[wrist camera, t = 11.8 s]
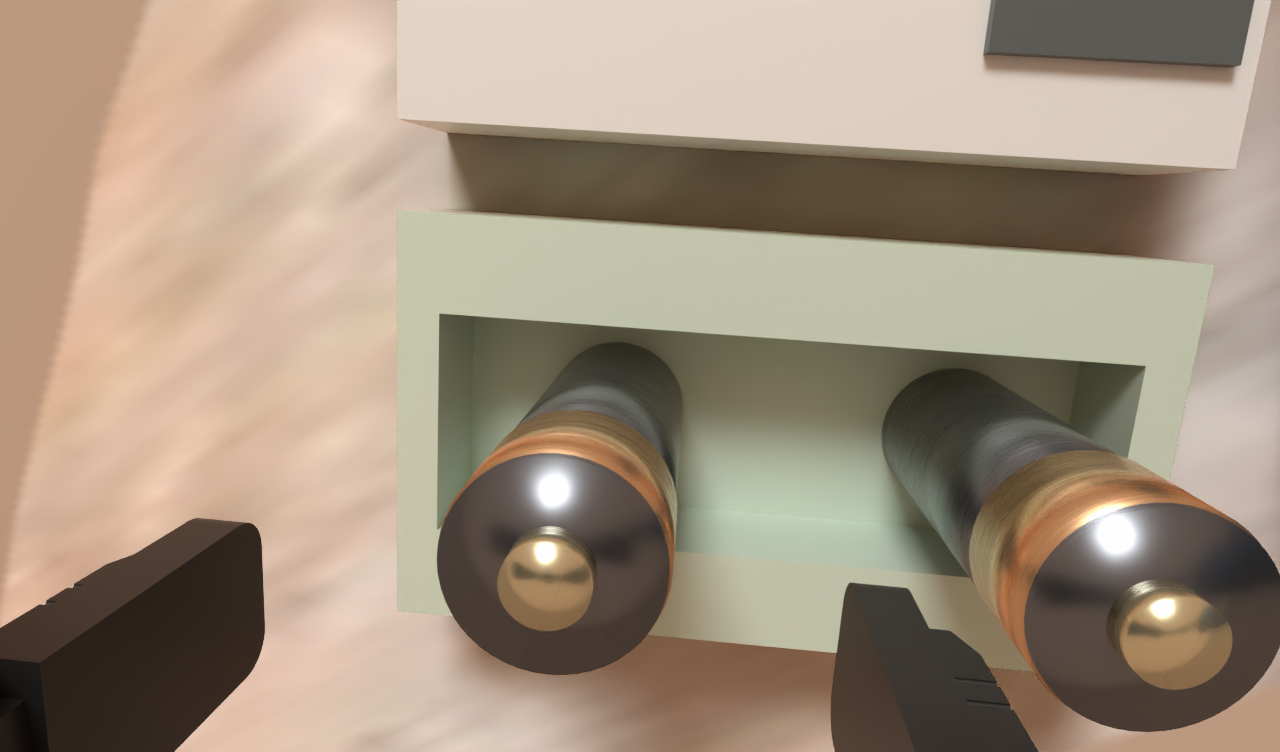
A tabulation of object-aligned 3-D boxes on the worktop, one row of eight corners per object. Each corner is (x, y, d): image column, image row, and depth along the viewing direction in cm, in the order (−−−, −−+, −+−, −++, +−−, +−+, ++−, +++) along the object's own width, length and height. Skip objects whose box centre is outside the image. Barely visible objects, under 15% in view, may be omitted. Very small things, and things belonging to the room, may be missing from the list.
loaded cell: (1032, 372, 21) (1350, 533, 11) (1010, 505, 22) (1286, 774, 12) (889, 361, 21) (1067, 508, 11) (871, 493, 22) (1022, 747, 12)
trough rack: (1128, 254, 21) (1215, 265, 17) (1061, 608, 23) (1126, 680, 20) (445, 209, 22) (396, 210, 18) (441, 551, 24) (397, 610, 21)
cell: (689, 345, 22) (680, 477, 11) (680, 476, 22) (662, 712, 12) (552, 335, 22) (420, 456, 12) (548, 466, 23) (420, 687, 12)
